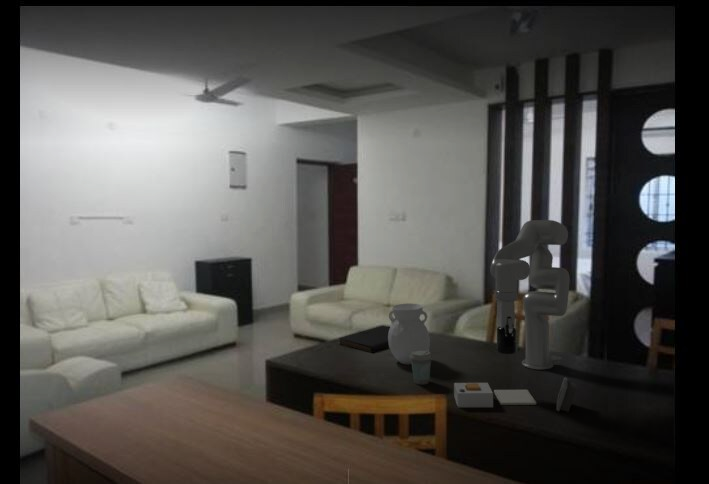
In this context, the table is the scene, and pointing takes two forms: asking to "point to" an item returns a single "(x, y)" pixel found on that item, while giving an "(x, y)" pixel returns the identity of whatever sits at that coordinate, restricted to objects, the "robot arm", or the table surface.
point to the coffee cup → (421, 366)
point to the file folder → (368, 339)
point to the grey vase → (407, 331)
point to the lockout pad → (514, 397)
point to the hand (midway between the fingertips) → (506, 343)
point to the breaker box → (473, 396)
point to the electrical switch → (565, 395)
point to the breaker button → (472, 386)
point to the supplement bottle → (501, 342)
